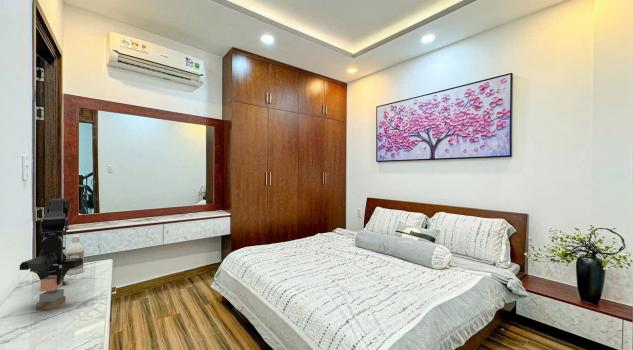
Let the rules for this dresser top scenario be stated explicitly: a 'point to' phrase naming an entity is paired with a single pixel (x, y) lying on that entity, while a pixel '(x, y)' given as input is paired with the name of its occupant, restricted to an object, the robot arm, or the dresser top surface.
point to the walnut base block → (50, 304)
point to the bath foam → (75, 254)
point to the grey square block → (51, 295)
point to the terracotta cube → (50, 283)
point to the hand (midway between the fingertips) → (51, 284)
